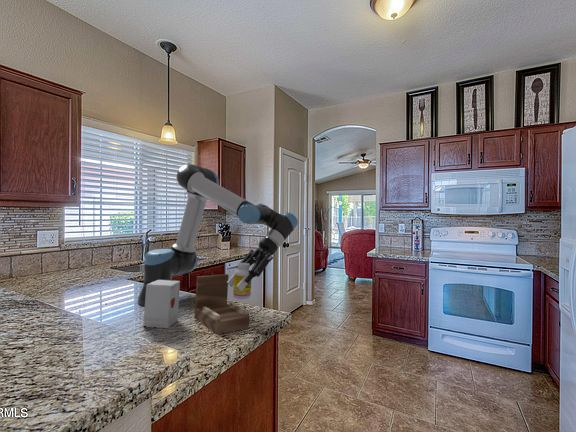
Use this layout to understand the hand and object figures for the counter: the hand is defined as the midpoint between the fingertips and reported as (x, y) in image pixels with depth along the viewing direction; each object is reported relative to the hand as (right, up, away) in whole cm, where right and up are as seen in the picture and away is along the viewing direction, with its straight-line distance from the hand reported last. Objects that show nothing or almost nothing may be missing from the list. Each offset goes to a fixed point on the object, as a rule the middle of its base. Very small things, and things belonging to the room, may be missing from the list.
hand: (234, 286), depth 109 cm
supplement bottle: (+3, -5, +2) cm, 6 cm away
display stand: (-5, -14, 0) cm, 15 cm away
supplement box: (-26, -13, -4) cm, 29 cm away
